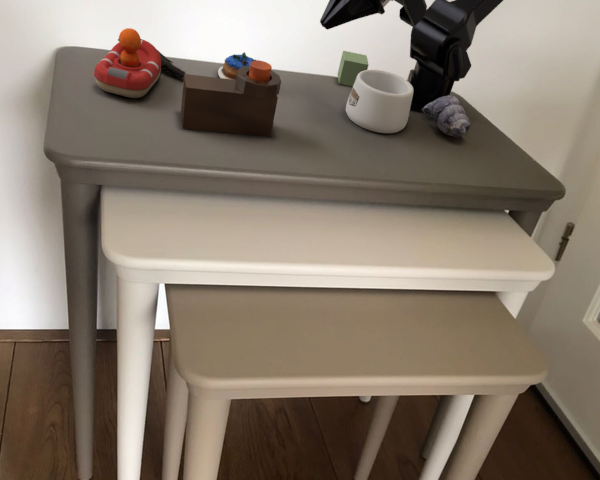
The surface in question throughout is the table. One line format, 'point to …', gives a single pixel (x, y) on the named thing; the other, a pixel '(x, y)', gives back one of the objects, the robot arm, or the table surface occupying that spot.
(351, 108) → the mug
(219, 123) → the brown button base
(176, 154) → the table surface
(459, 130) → the grub
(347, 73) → the green cube block
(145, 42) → the toy boat
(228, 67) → the dessert
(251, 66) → the button
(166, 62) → the bird model
